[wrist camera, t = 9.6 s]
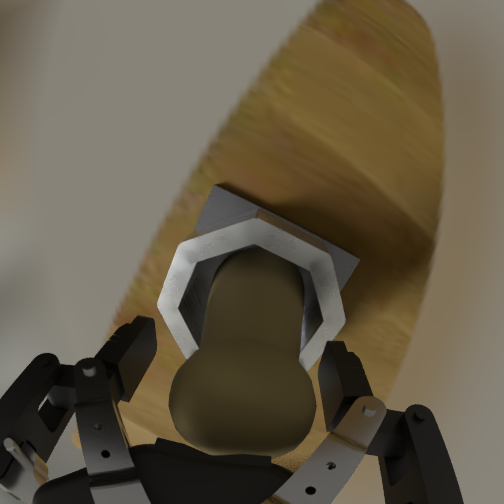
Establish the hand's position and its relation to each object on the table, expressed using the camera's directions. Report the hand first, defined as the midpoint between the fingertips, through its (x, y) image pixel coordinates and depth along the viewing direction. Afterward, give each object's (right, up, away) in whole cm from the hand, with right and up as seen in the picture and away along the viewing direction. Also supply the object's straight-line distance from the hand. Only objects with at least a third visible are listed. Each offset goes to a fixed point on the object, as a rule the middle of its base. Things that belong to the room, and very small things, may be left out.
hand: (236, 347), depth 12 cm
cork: (+1, +2, +6) cm, 6 cm away
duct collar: (+1, +2, +6) cm, 6 cm away
